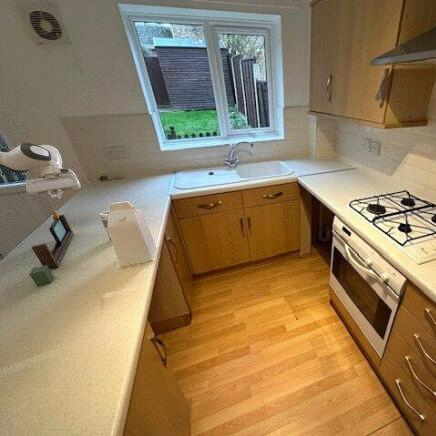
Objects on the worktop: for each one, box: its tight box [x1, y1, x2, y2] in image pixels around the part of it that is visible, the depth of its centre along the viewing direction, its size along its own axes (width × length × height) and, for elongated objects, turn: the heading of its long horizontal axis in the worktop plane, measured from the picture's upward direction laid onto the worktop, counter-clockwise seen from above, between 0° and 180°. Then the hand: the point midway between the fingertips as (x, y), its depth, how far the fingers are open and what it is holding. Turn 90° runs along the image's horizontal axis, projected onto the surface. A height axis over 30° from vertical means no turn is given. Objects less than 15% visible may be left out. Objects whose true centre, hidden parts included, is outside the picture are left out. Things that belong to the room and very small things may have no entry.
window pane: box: [48, 209, 67, 246], centre depth 112 cm, size 13×1×13 cm, turn 30°
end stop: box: [28, 265, 55, 287], centre depth 91 cm, size 4×4×6 cm
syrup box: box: [99, 209, 112, 242], centre depth 116 cm, size 6×6×14 cm
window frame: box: [31, 213, 75, 271], centre depth 108 cm, size 31×4×12 cm, turn 30°
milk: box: [107, 200, 157, 268], centre depth 100 cm, size 12×12×26 cm
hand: (56, 198), depth 120 cm, fingers closed
